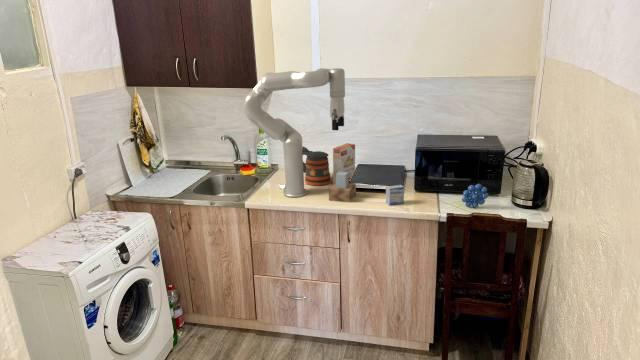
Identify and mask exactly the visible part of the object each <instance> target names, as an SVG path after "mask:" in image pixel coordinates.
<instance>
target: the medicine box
mask: <svg viewBox="0 0 640 360" xmlns="http://www.w3.org/2000/svg"><path fill="white" fill-rule="evenodd" d="M385 203H386V204H387V205H388V206H394V205H402V204H404V203H405V187H404V185H402V184H396V185H389V186H387V185H386V186H385Z"/></svg>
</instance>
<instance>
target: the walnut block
mask: <svg viewBox="0 0 640 360" xmlns="http://www.w3.org/2000/svg"><path fill="white" fill-rule="evenodd" d="M356 188H357V184H356V183H350V182H349V183H348V186H347V188H346V189H345V188H336V182H335V183H334V184H331V186H330V187H329V188H328V201H329V202H330V201H331V202H341V203H342V202H343V203H351V202H352V201H353V199H354V198H355V197H356V194H357V190H356Z"/></svg>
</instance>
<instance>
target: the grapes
mask: <svg viewBox="0 0 640 360" xmlns="http://www.w3.org/2000/svg"><path fill="white" fill-rule="evenodd" d="M462 196H463V197H461V202H462V203H465V207H467V208H469V207H472V208H474V209H477V208H478V207H479V205H480V206H482V205H484V204H486V203H485V202H486V199H487V198H489V193H488V188H487V187H486V186H482V184H481V183H477V184H475V185H474V184H470V185H468V186H467V189H465V190H463V191H462Z"/></svg>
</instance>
